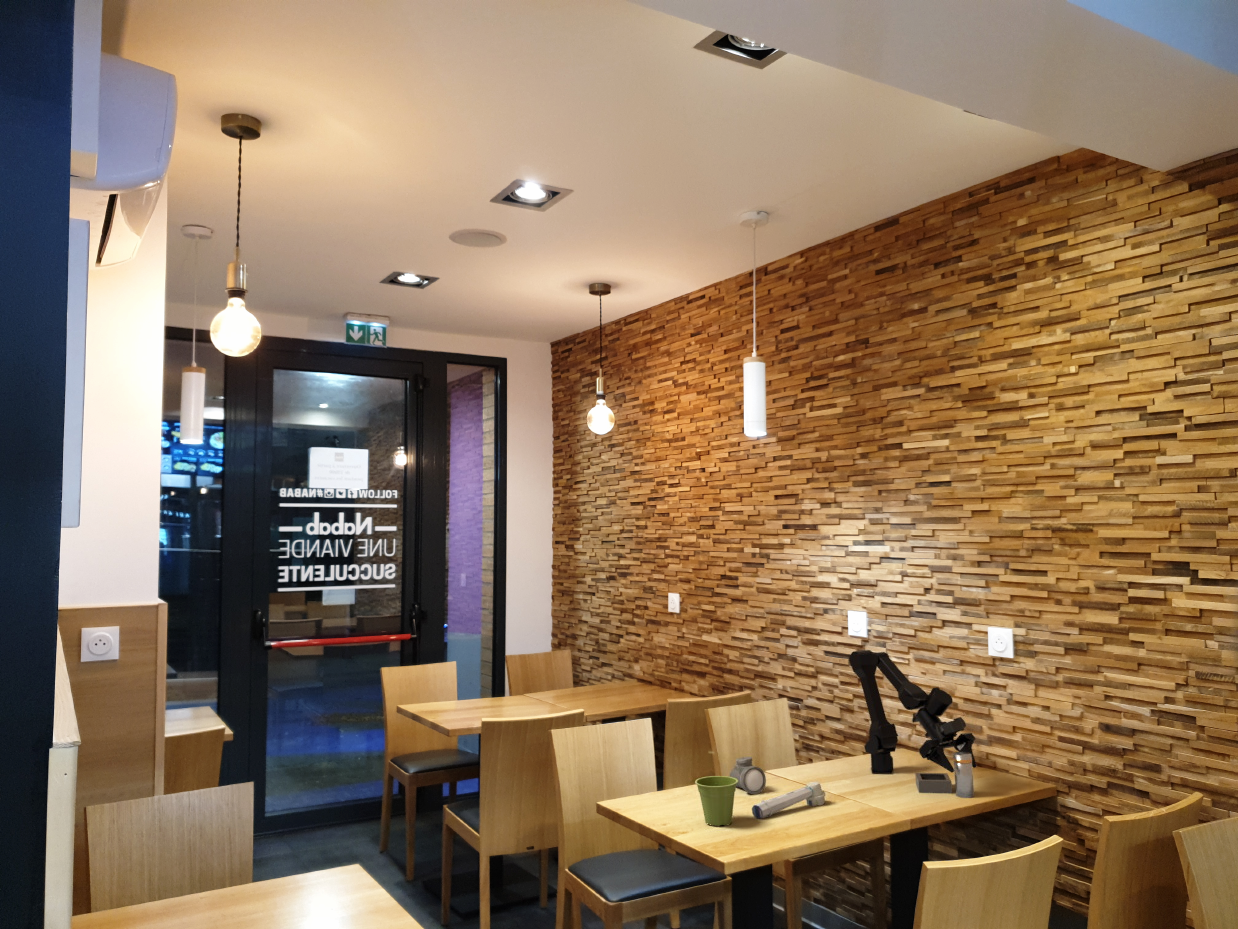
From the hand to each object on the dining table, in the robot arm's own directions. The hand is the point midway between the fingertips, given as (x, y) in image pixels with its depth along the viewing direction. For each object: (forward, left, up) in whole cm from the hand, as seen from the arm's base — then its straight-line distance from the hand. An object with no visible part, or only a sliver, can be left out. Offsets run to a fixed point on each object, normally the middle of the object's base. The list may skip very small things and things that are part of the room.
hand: (964, 769), depth 270 cm
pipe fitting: (-64, +2, -8) cm, 65 cm away
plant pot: (-69, -32, -8) cm, 77 cm away
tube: (0, 0, -8) cm, 8 cm away
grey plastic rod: (-50, -18, -8) cm, 54 cm away
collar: (-8, +7, -8) cm, 13 cm away
